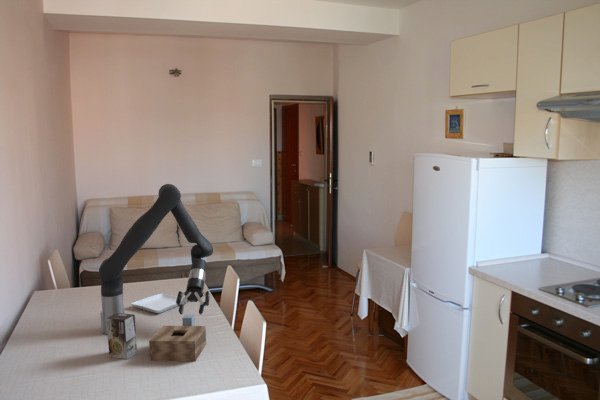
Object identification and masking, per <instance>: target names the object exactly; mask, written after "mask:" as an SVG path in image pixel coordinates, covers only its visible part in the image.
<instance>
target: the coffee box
mask: <svg viewBox="0 0 600 400" xmlns="http://www.w3.org/2000/svg"><path fill="white" fill-rule="evenodd" d="M135 315H136V314H131V313H130V314H129V313H124V314H123V313H116V314H113V315H112V316H110V317H108V318H106V320H107V332H108V334H107V341H108V342H107V343H108V356H110V358H117V359H118V358H119V359H125V360H128V359H130V358H132V357H133V356H134V355H136V354H138V350H137V349H138V348H137V333H136V318H135V317H136V316H135Z"/></svg>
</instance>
